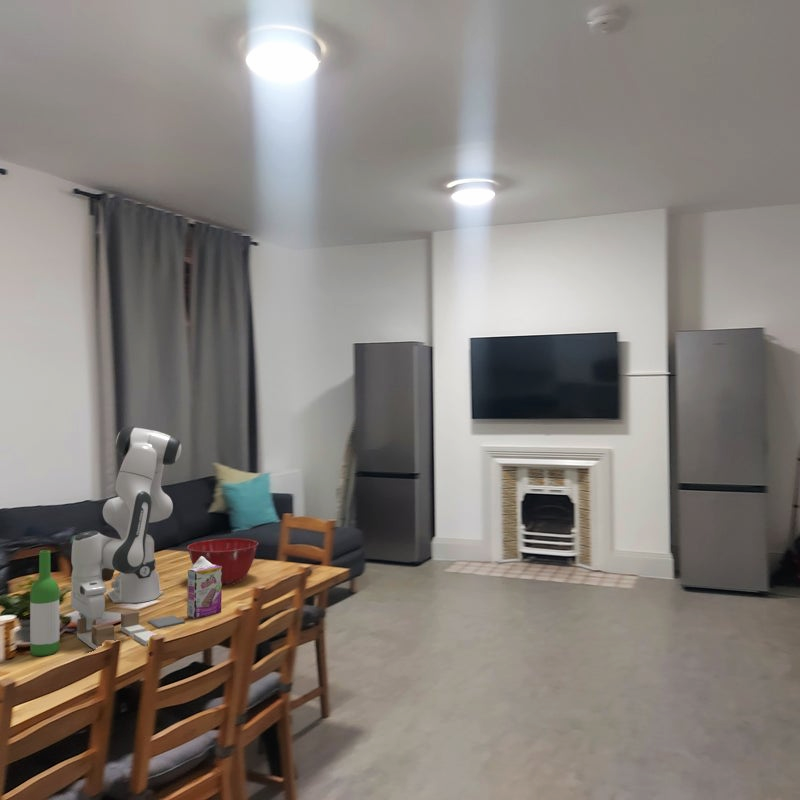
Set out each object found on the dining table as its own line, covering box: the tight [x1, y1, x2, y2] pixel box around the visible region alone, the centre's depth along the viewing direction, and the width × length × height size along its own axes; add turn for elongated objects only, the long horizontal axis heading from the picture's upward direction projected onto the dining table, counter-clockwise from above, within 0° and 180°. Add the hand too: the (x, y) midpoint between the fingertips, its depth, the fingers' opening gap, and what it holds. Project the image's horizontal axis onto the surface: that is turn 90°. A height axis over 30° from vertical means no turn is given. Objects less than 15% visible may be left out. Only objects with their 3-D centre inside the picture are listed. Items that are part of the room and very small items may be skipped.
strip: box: [76, 618, 100, 650], centre depth 223 cm, size 20×5×6 cm, turn 41°
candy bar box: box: [186, 565, 223, 620], centre depth 254 cm, size 11×5×16 cm, turn 141°
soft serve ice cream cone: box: [190, 556, 212, 569], centre depth 275 cm, size 8×8×16 cm
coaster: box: [147, 615, 186, 629], centre depth 245 cm, size 9×9×1 cm
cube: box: [92, 622, 116, 647], centre depth 219 cm, size 5×5×5 cm
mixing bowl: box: [186, 538, 259, 586], centre depth 300 cm, size 28×28×16 cm
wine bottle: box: [29, 549, 60, 657], centre depth 216 cm, size 8×8×30 cm
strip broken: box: [120, 610, 157, 647], centre depth 231 cm, size 20×5×6 cm, turn 41°
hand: (86, 627), depth 230 cm, fingers closed on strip, 2 cm apart
